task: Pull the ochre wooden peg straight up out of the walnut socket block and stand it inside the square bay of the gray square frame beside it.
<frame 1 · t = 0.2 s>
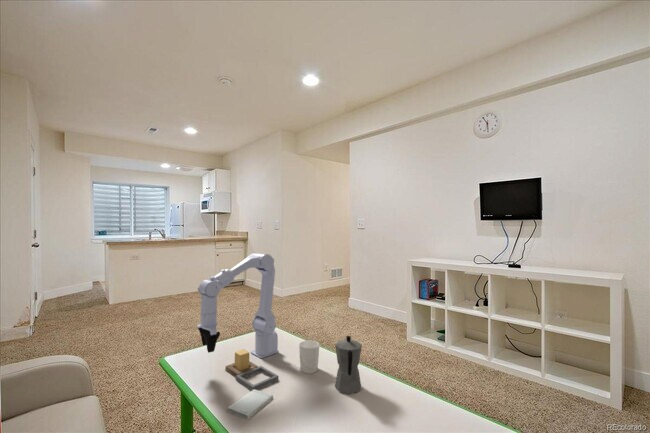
hand: (208, 348, 118), 10 cm above the table, tool pointing down, fingers open, 7 cm apart
hard drive: (250, 406, 99), on the table
gray square frame: (257, 379, 114), on the table
coffeepot: (348, 389, 109), on the table
white cup: (309, 370, 123), on the table
peg: (241, 361, 121), in the socket block
socket block: (241, 370, 121), on the table
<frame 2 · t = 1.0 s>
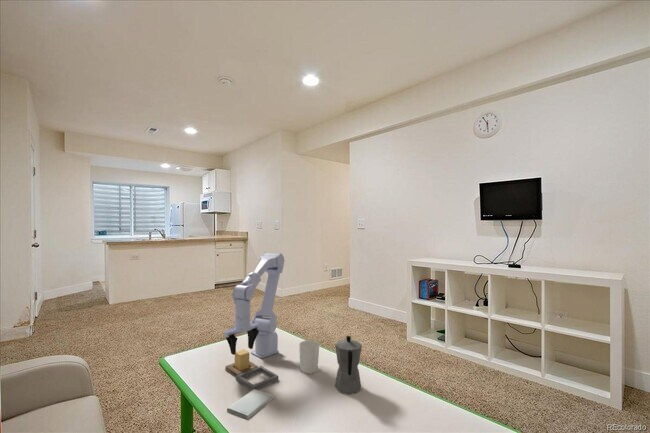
hand: (242, 351, 121), 7 cm above the table, tool pointing down, fingers open, 7 cm apart
nothing on the table moved.
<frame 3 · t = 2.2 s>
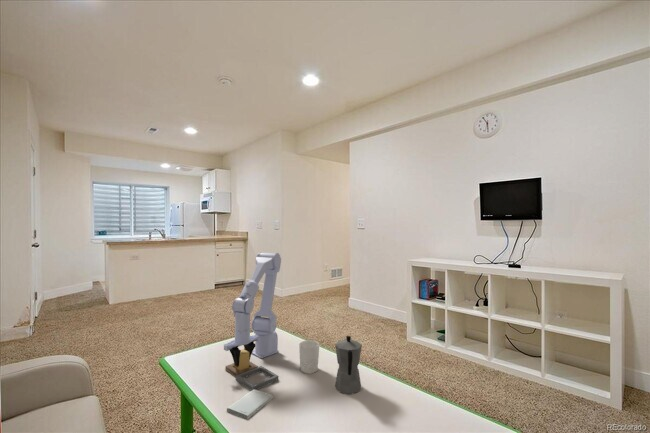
hand: (241, 363, 121), 2 cm above the table, tool pointing down, fingers closed on peg, 4 cm apart
peg: (241, 361, 121), in the socket block, touching gripper
everything else where it was.
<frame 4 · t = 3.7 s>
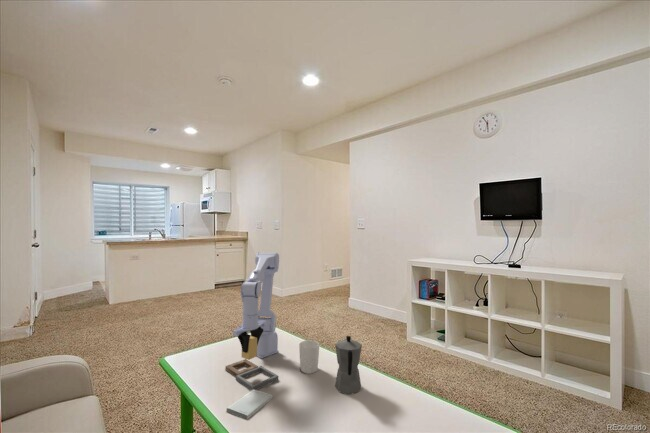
hand: (249, 349, 118), 9 cm above the table, tool pointing down, fingers closed on peg, 4 cm apart
peg: (249, 347, 118), point 10 cm above the table, touching gripper
everything else where it was.
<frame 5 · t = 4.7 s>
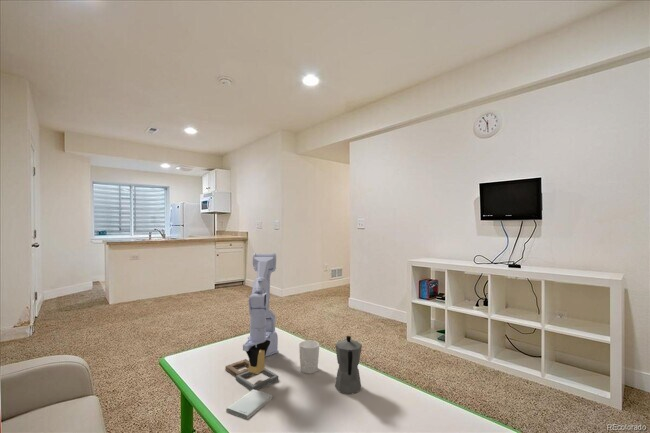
hand: (257, 363, 114), 6 cm above the table, tool pointing down, fingers closed on peg, 4 cm apart
peg: (256, 360, 114), point 7 cm above the table, touching gripper
everything else where it was.
when the fingers open (3 cm above the table, at t = 5.6 s): peg stays where it is, resting in gray square frame.
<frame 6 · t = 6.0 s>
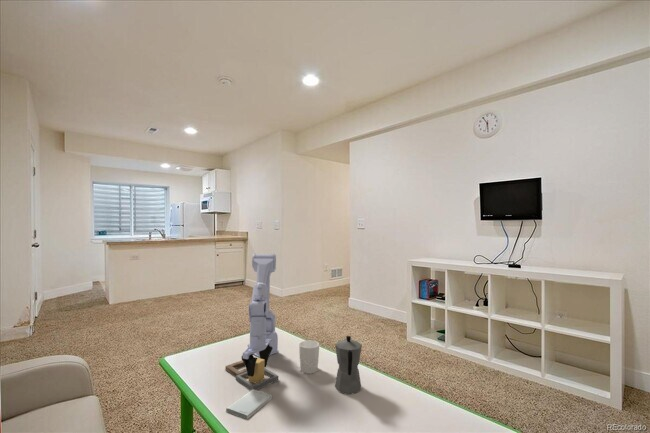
hand: (257, 371, 114), 3 cm above the table, tool pointing down, fingers open, 7 cm apart
peg: (256, 370, 114), in the gray square frame
everything else where it was.
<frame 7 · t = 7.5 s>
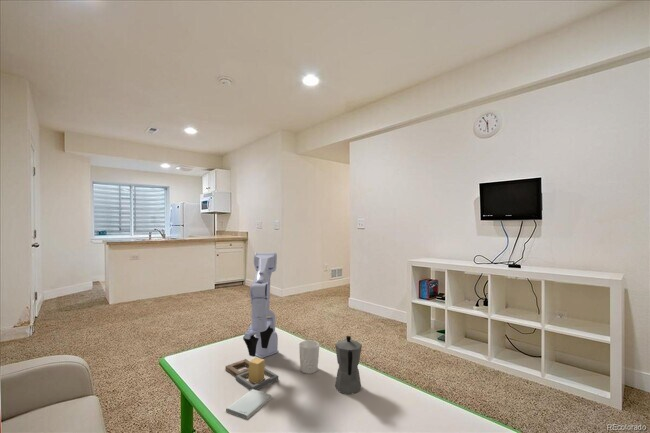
hand: (258, 351, 117), 9 cm above the table, tool pointing down, fingers open, 7 cm apart
nothing on the table moved.
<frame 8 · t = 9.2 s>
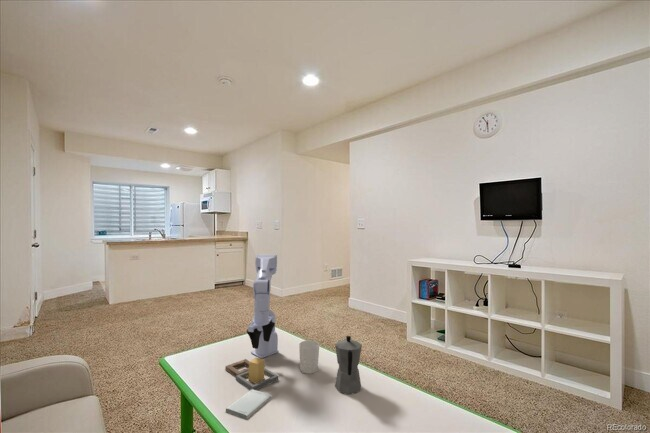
hand: (261, 344, 123), 9 cm above the table, tool pointing down, fingers open, 7 cm apart
nothing on the table moved.
at the end: peg 0.3 cm off-centre on the gray square frame, point 3.4 cm above the gray square frame's base; peg tilted 0°; the gripper is holding nothing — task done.
